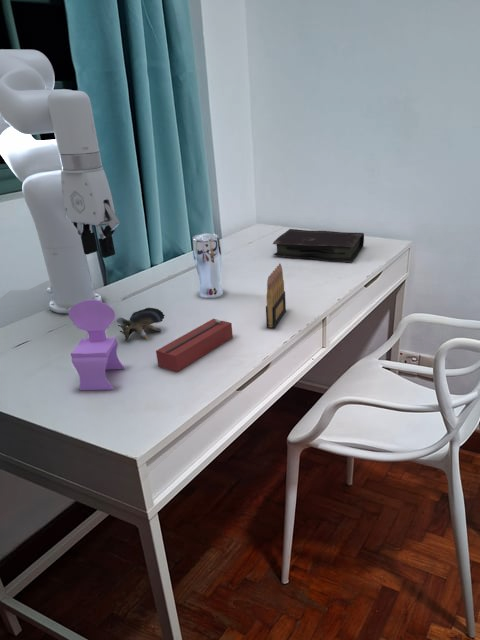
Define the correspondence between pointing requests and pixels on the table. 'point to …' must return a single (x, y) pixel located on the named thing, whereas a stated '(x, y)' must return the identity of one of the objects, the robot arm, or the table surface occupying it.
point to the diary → (319, 245)
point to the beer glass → (208, 264)
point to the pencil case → (194, 345)
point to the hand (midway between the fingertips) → (99, 253)
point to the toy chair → (94, 344)
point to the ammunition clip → (275, 298)
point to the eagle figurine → (140, 322)
